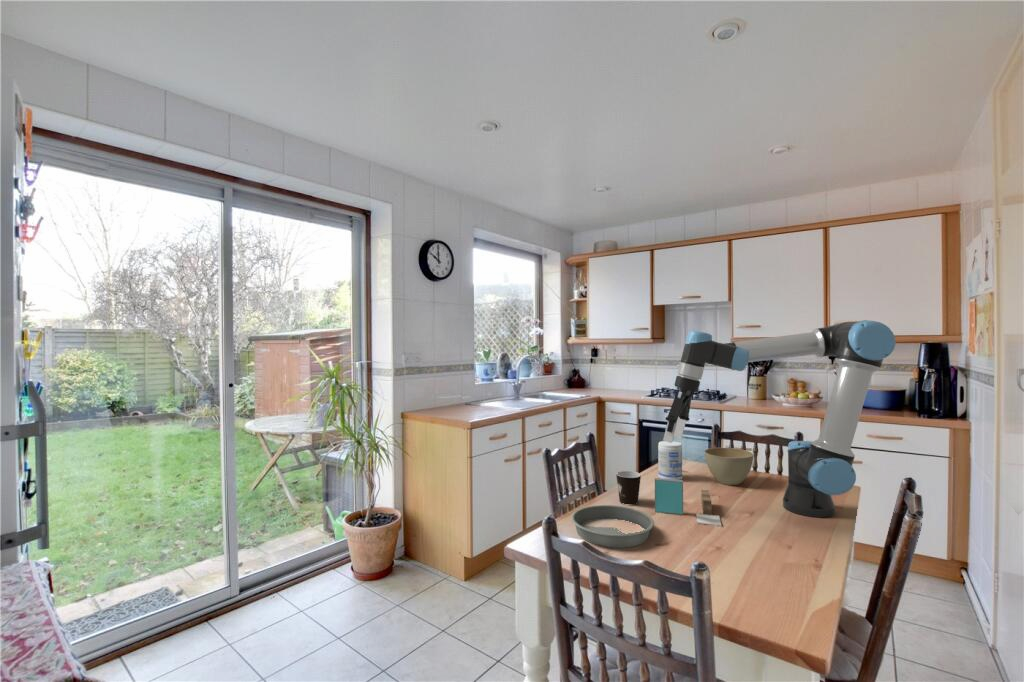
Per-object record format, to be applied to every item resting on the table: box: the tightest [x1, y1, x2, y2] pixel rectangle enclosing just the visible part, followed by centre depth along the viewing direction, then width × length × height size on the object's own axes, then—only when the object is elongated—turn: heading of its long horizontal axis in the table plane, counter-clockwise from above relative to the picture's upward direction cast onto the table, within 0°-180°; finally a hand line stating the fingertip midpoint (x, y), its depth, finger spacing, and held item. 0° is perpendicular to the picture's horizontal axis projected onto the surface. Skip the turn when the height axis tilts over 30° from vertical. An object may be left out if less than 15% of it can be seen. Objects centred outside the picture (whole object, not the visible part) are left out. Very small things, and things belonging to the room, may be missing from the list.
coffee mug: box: [615, 470, 642, 505], centre depth 173 cm, size 12×9×10 cm
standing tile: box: [654, 477, 684, 515], centre depth 161 cm, size 2×9×11 cm, turn 71°
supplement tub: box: [657, 440, 683, 480], centre depth 200 cm, size 10×10×15 cm
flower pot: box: [704, 447, 754, 486], centre depth 193 cm, size 18×18×12 cm
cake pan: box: [570, 504, 655, 548], centre depth 146 cm, size 25×25×4 cm
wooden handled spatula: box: [695, 489, 722, 527], centre depth 159 cm, size 20×7×5 cm, turn 161°
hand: (672, 439), depth 158 cm, fingers open, 13 cm apart
